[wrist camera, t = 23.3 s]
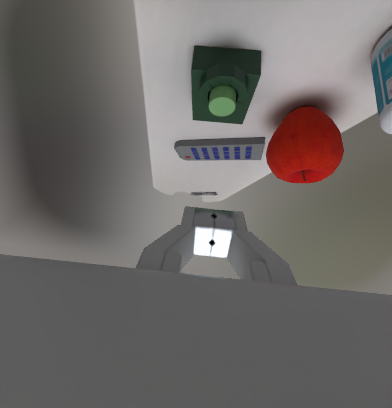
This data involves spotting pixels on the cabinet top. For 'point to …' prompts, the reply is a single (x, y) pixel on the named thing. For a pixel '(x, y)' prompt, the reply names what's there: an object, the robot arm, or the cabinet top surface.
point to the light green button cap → (222, 100)
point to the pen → (204, 193)
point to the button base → (224, 80)
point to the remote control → (221, 149)
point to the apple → (305, 147)
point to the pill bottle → (383, 80)
